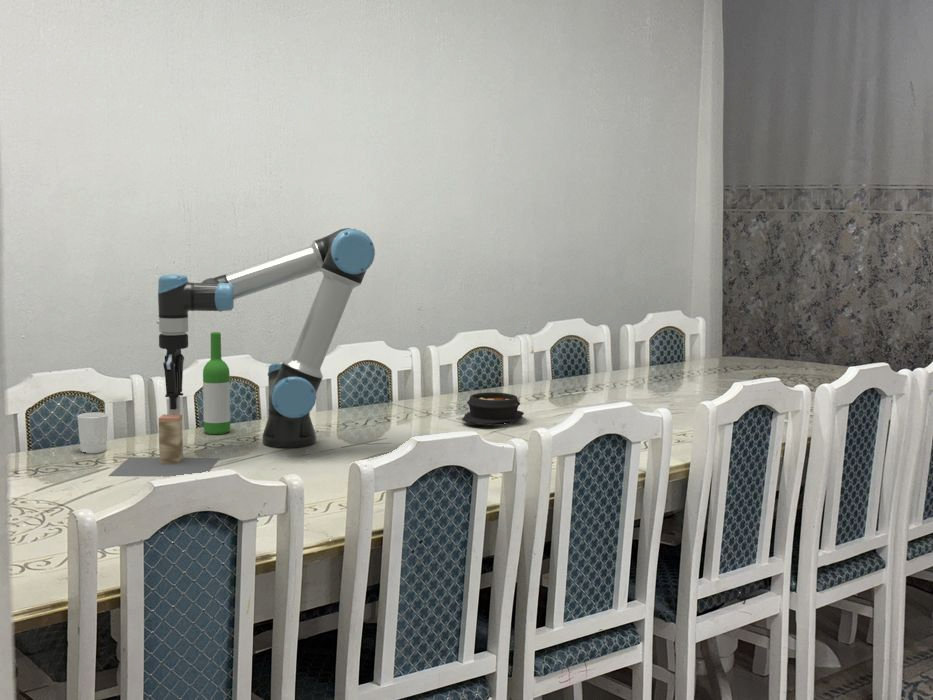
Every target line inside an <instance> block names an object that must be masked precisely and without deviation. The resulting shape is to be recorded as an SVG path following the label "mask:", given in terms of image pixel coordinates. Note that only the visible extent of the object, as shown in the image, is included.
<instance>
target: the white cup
mask: <svg viewBox="0 0 933 700" xmlns="http://www.w3.org/2000/svg"><path fill="white" fill-rule="evenodd" d="M108 421H109V415H108V413H107V412H85V413H80V414H77V427H78V440H79V445H80V446H79V447H80V452H81V451H82V452H81V453H83V452H86V453H85V454H99V453H104V452H106V451H107V449H108V448H107V447H108V446H107V445H108V442H107V441H108V430H109V429H108V427H109V424H108V423H109V422H108Z"/></svg>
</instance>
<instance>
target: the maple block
mask: <svg viewBox="0 0 933 700" xmlns="http://www.w3.org/2000/svg"><path fill="white" fill-rule="evenodd" d="M183 437H184V436H183V414H180V415H169V414H165V413H164V414H162V415H160V416H159V417H158V448H159V449H158V450H159V451H158V452H159V453H158V455H159V456H158V457H159V462H160V463H180V462H181V461H182V459H183V458H184V447H183V446H184V443H183V441H184V439H183Z"/></svg>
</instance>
